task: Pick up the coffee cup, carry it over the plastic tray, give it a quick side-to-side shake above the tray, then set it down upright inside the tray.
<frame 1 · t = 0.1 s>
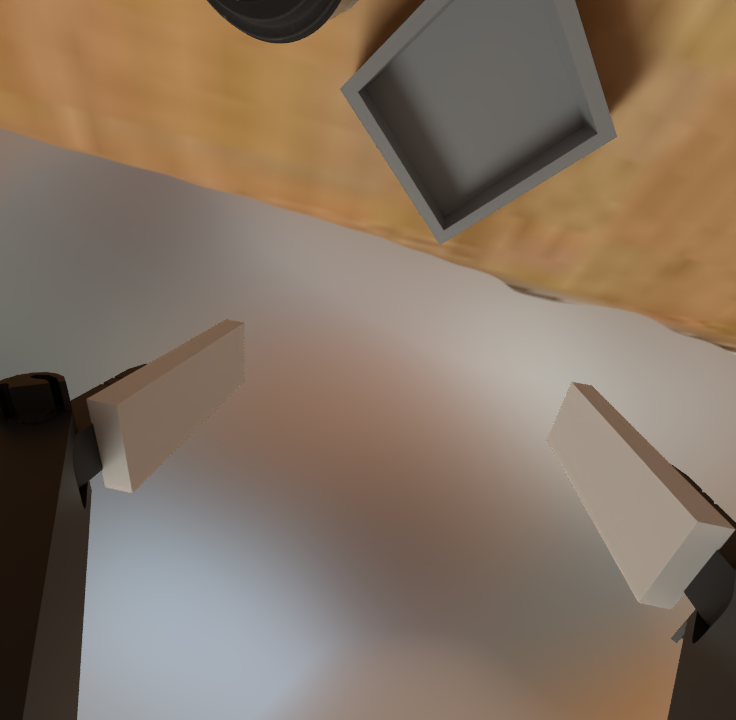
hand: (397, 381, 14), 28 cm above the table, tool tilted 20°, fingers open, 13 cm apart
tray: (472, 105, 30), on the table
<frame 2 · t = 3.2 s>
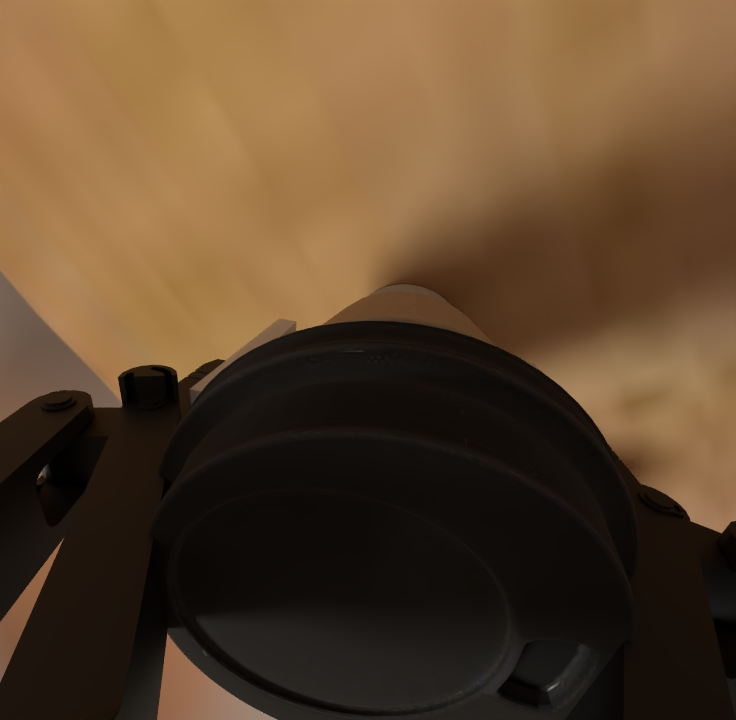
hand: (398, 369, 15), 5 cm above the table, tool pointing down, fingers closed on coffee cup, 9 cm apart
coffee cup: (402, 334, 20), on the table, touching gripper
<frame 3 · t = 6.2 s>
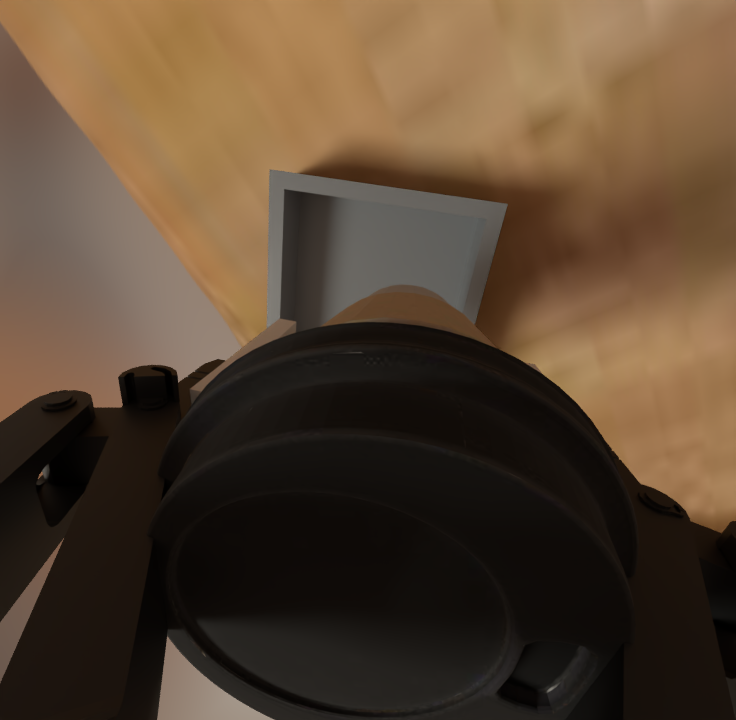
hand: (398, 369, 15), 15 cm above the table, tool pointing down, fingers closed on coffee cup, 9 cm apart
tray: (376, 290, 29), on the table
coffee cup: (402, 334, 20), point 10 cm above the table, touching gripper
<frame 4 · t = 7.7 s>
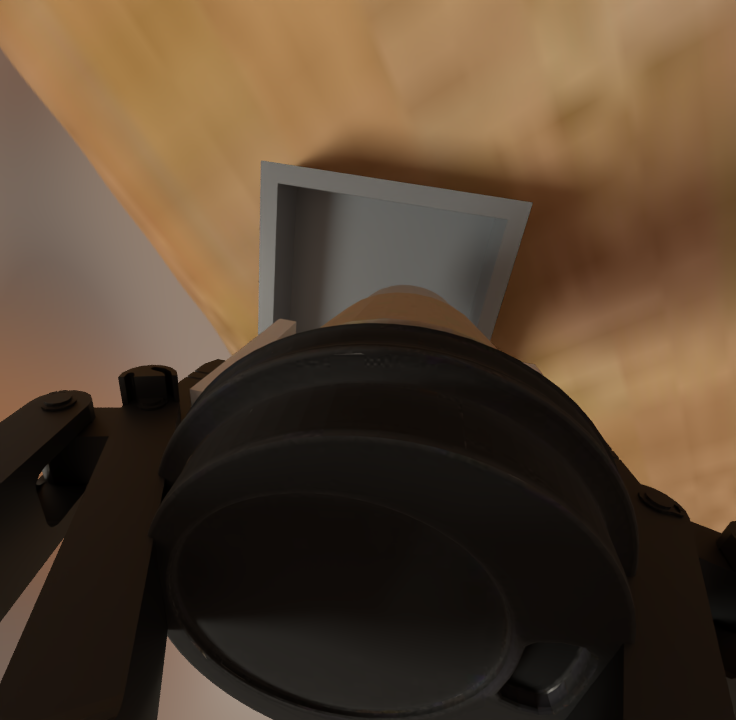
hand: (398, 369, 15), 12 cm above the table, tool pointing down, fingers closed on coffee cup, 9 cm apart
tray: (380, 296, 26), on the table
coffee cup: (402, 334, 20), point 7 cm above the table, touching gripper
when the fingers open (6 cm above the table, at t = 9.2 s): coffee cup stays where it is, resting on tray.
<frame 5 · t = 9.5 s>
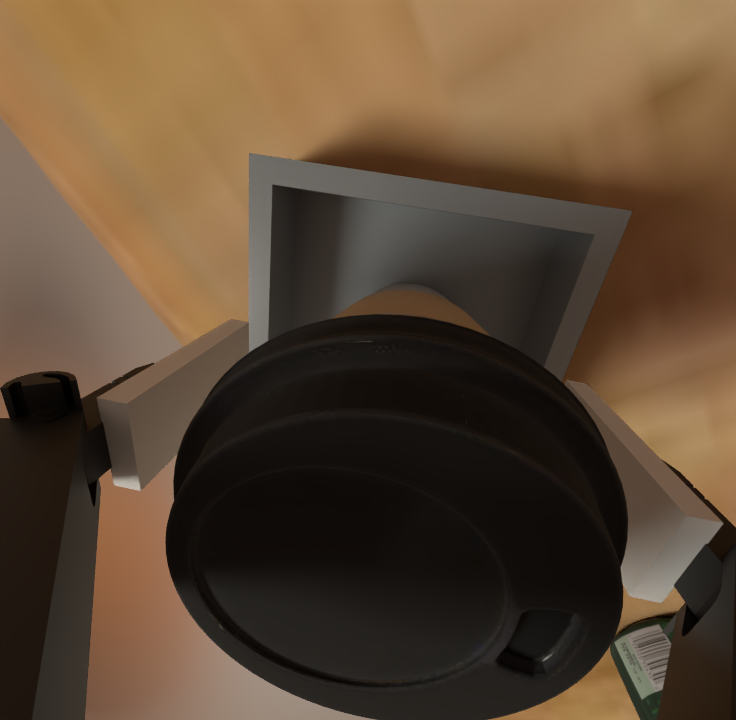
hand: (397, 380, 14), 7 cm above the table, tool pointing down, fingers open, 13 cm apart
coffee jar: (665, 645, 29), on the table
tray: (403, 327, 21), on the table
coffee cup: (404, 332, 20), point 1 cm above the table, touching tray
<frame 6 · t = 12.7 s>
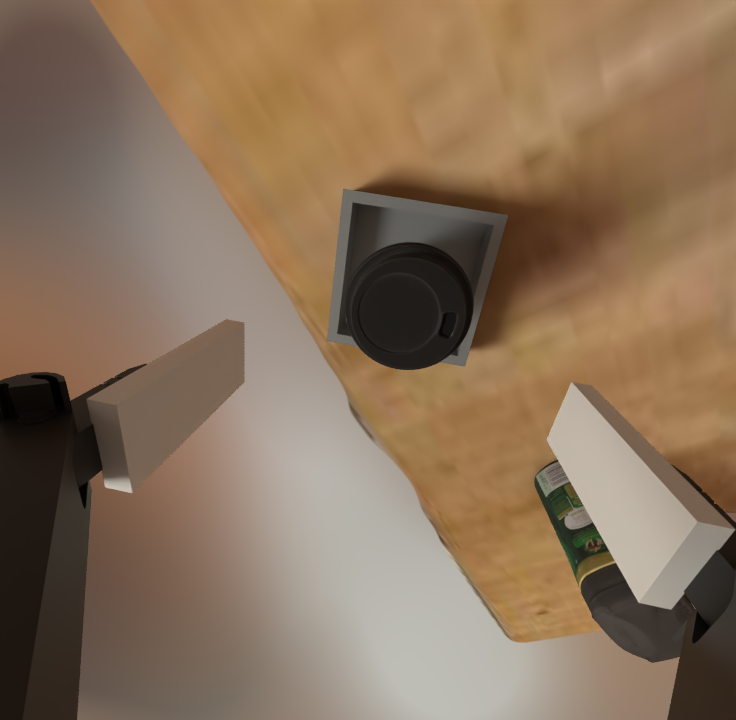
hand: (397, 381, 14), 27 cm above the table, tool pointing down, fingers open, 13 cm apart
coffee jar: (568, 481, 47), on the table
tray: (409, 276, 39), on the table
coffee cup: (410, 278, 38), point 1 cm above the table, touching tray
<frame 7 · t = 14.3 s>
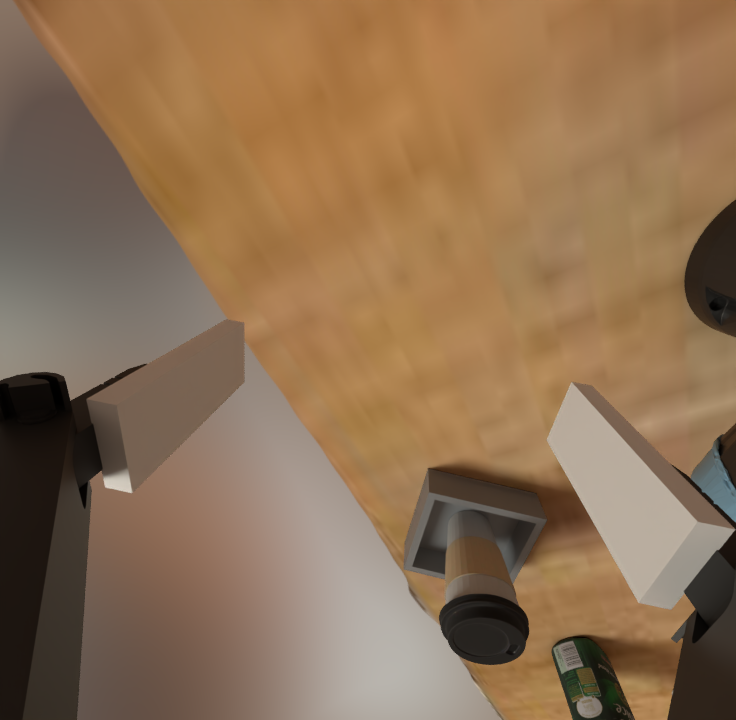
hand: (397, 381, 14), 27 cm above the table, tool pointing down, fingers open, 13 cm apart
coffee jar: (578, 650, 59), on the table
tray: (466, 519, 51), on the table
coffee cup: (467, 524, 50), point 1 cm above the table, touching tray
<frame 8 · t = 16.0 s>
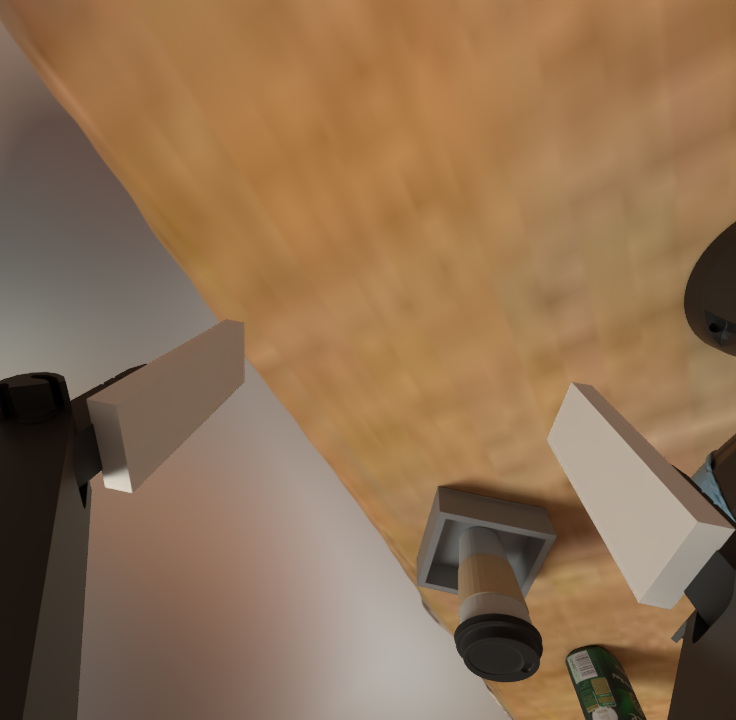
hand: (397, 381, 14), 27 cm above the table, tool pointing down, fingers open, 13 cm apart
coffee jar: (592, 659, 60), on the table
tray: (476, 534, 52), on the table
coffee cup: (478, 539, 51), point 1 cm above the table, touching tray
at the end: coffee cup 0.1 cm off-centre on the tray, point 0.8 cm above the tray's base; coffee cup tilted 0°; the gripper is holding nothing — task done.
